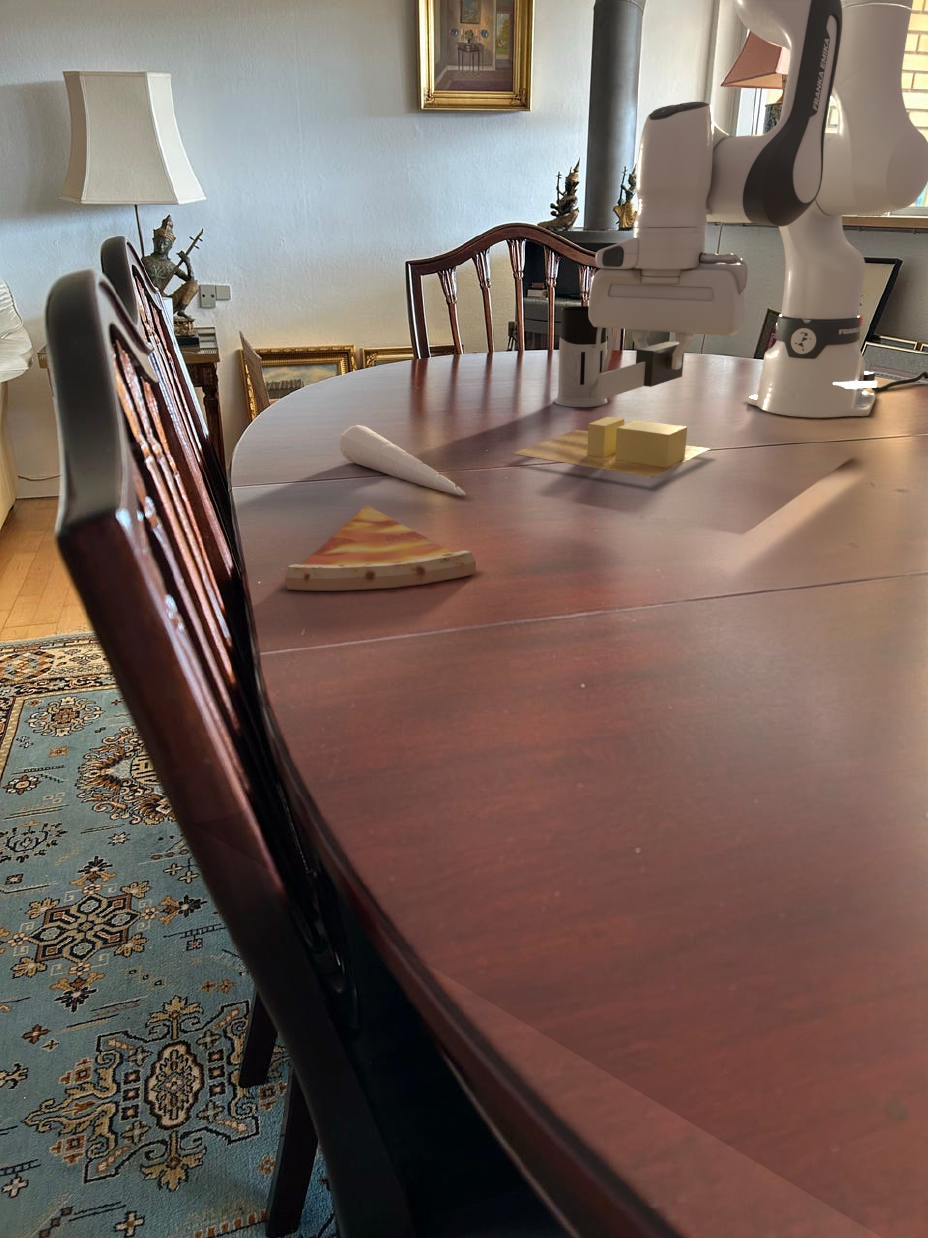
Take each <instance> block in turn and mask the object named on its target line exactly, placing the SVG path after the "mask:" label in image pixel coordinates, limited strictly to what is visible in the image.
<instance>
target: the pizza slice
mask: <svg viewBox="0 0 928 1238" xmlns="http://www.w3.org/2000/svg"><path fill="white" fill-rule="evenodd" d="M476 564H477V563H476V559H475V557H474V555H473V553H472V551H470V550H465V549H464V550H460V551H455V552H453V551H452V550H450V549H447V548H446V547H444V546H442V545H441V544H439V543H437V542H435V541H433V540H431V539H429V538H427V537H426V536H424V535H423V534H420V533H419V532H417V531H415V530H413V529H411V528H409V527H407V526H406V525H404V524H402V523H400V522H399V521H396V520H395V519H393V518H391V517H390V516H387V515H385V514H384V513H382V512H380V511H378V510H376V509H375V508H373V507H371V506H369V505H367V504H366V505H364V507H363V508H362V509H360V510H359V511H358V512H357V513H356V514H355V515H354V516H353V517H352V518H351V519H350V520H349V521H347V523H346V524H345V525H343V526H342V527H341V528H340V529H339V530H338V531H337V532H336V533H335V534H333V536H332V537H331V538H329V539H328V541H326V542H325V543H324V544H323V545H322V546H320V548H319V549H318V550H317V551H316V552H315V553H314V554H312V555H311V556H310V557H309V558H308V559H307V560H306V561H304V563H302V564H297V563H295V564H294V563H293V564H290V565H288V566H287V568H286V574H285V584H286V590H289V591H309V592H343V591H345V592H346V591H366V590H386V589H387V590H388V589H397V588H406V587H412V586H423V585H428V584H433V583H438V582H443V581H449V580H450V581H451V580H455V579H461V578H465V577H468V576H471V575H475V574H476V572H477V568H476V567H477V565H476Z"/></svg>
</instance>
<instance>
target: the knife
mask: <svg viewBox="0 0 928 1238" xmlns="http://www.w3.org/2000/svg"><path fill="white" fill-rule="evenodd" d="M678 344H679V342H676V341H664V342H661V343H657V344H652V345H648V346H649V347H645V348H641V349H637V348H636V352H635V363H634V364H631V365H626V366H623V367H620V368H615V369H613V370H612V369H611V370H608V371H606V372H605V373H601V374H599V386H598V400H603V399H608V398H612V397H614V396H617V395H621V394H624V393H627V392H630V391H633V390H637V389H639V388H643V387H650V388H652V387H655V386H657V385H661V384H664V383H667V382H670V381H673V380H677V379H679V378H681V377H683V372H684V371H683V369H684V359H685V353H684V354H683V356H682V366H681V368H680V369H677V370H675V369H666V355H668V354H672V353H673V352H674V351H675V349H676V347H677V346H678Z"/></svg>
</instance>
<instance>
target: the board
mask: <svg viewBox="0 0 928 1238" xmlns="http://www.w3.org/2000/svg"><path fill="white" fill-rule="evenodd" d="M587 445H588V430H582V429H573V430H572V431H569V432H566V433H564V434H561V435H558V436H554V437H553V438H550V439H547V440H544V441H542V442H539V443H537V444H534V445H531V446H528V447H526V448H522V449H520V450H517V451H515V452H512V453H511V455H516V456H521V457H529V458H534V459H541V460H547V461H552V462H557V463H564V464H569V465H576V466H582V467H586V468H587V467H588V468H593V469H600V470H606V471H611V472H617V473H621V474H622V473H623V474H628V475H634V476H635V475H636V476H641V477H646V478H652V479H653V478H655V477H657V476H660V475H661V474H664V473H665V472H667V471H669V470H671V469H673V468H675V467H678V466H680V465H682V464H683V463H686V462H687V461H689V460H691V459H693V458H696V457H697V456H700V455H702V454H703V453H705V452H707V451H710V448H708V447H701V446H694V445H687V444H686V448H685V459H683V460H681V461H679V462H677V463H675V464H673V465H671V466H669V467H667V468H665V467H658V466H652V465H646V464H640V463H633V462H627V461H621V460H615V453H613V454H611V455H608V456H606V457H604V458H602V457H596V456H590V455H587Z"/></svg>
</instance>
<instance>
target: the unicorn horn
mask: <svg viewBox="0 0 928 1238" xmlns="http://www.w3.org/2000/svg"><path fill="white" fill-rule="evenodd" d="M339 447H340V451H341V454H342V456H343V457H344V458H345V460H346V461H348V462H351V463H354V464H356V465H360V466H362V467H365V468H368V469H372V470H374V471H377V472H380V473H383V474H387V475H389V476H392V477H395V478H398V479H401V480H405V481H407V482H409V483H413V484H416V485H420V486H423V487H426V488H430V489H433V490H437V491H440V492H444V493H447V494H451V495H456V496H467V493H466V492H465V491H464V490H463V489H462V488H461V487H460V486H458V485H457V486H456V484H455V482H453V481H451V480H450V479H449V478H447V477H445V475H443V474H440V473H439V472H438V471H436V470H435V469H433V468H432V467H431V466H429V465H428V464H426V463H424V462H423V461H422V460H420V459H418V458H417V457H415V456H413V455H412V454H411V453H408V452H407V451H406V450H404V449H402V448H401V447H399V446H398V445H396V444H394V443H392V442H391V441H389V440H388V439H387V438H384V437H383V436H382V435H380V434H378V433H377V432H375V431H373V430H372V429H370V428H369V427H367V426H364V425H361V424H356V425H352V426H350V427H349V428H347V429H346V430H345V431H344V432H343V433H342V435H341V438H340V441H339Z"/></svg>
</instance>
